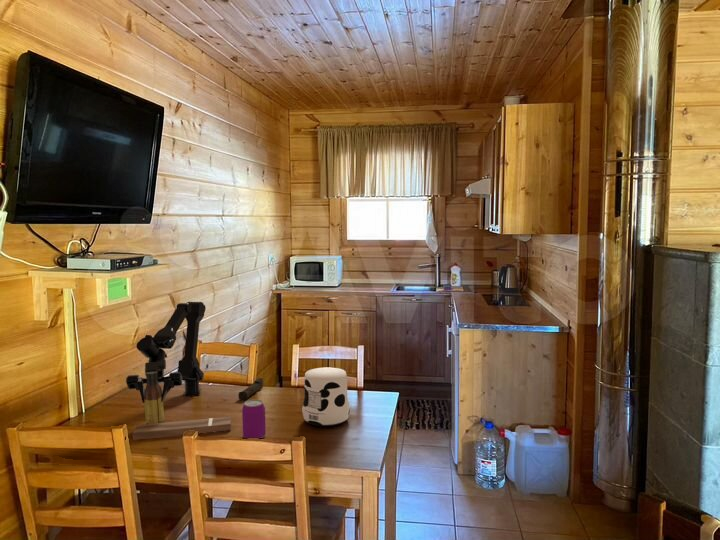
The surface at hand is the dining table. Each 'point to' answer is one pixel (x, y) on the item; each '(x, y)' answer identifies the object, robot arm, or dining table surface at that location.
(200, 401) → the dining table surface
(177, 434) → the walnut board
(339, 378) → the milk container
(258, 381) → the hand tool
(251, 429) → the beverage can
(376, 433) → the dining table surface
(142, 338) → the robot arm
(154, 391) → the sauce bottle
